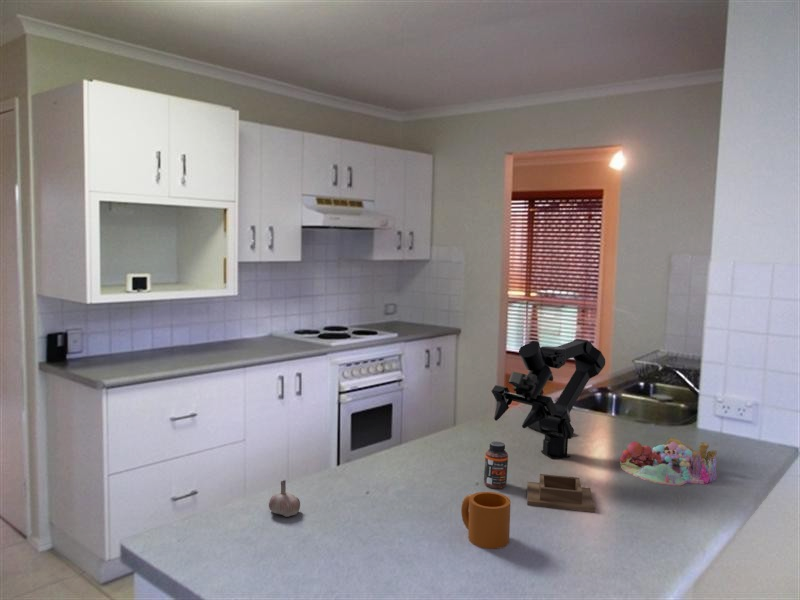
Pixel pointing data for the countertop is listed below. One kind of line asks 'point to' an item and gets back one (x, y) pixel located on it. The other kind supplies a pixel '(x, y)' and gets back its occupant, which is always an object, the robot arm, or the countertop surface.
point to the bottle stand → (560, 493)
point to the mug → (487, 519)
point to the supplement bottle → (496, 465)
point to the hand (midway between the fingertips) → (508, 423)
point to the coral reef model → (670, 463)
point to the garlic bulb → (284, 502)
